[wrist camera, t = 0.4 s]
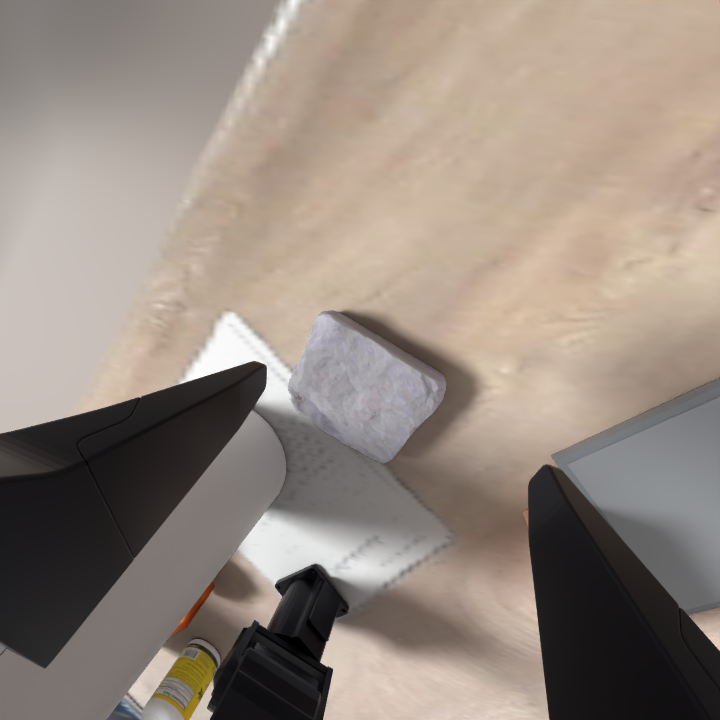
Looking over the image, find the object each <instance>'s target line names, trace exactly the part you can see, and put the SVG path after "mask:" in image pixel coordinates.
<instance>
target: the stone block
mask: <svg viewBox="0 0 720 720" xmlns="http://www.w3.org/2000/svg"><path fill="white" fill-rule="evenodd" d="M446 387H447V384H446V381H445V377H444V376H443V374H442V373H440V372H439V371H437V370H435V369H434V368H432V367H431V366H429V365H427V364H425V363H424V362H422V361H420V360H418V359H417V358H415V357H414V356H412V355H410V354H408V353H407V352H405V351H403V350H402V349H400V348H398V347H397V346H395V345H394V344H392V343H390V342H388V341H387V340H385V339H383V338H382V337H380V336H378V335H377V334H375V333H373V332H372V331H370V330H368V329H366V328H365V327H363V326H361V325H360V324H358V323H357V322H355V321H353V320H352V319H350V318H348V317H347V316H345V315H343V314H341V313H338V312H336V311H324V312H322V313H321V314H319V315H318V317H317V318H316V320H315V322H314V324H313V327H312V332H311V333H310V335H309V338H308V342H307V345H306V347H305V349H304V351H303V353H302V355H301V357H300V359H299V361H298V363H297V365H296V367H295V370H294V372H293V374H292V376H291V378H290V380H289V385H288V391H289V393H290V394H291V396H292V397H291V399H290V400H291V402H292V404H293V405H294V407H295V409H296V411H297V412H299V413H300V414H302V415H305V416H307V417H309V418H310V419H311V420H312V421H313V423H314V424H315V425H316V426H317V427H318V428H320V429H321V430H323V431H324V432H325V433H327V434H329V435H331V436H333V437H336V438H337V439H338V440H339V441H341V442H342V443H343V444H345V445H347V446H349V447H351V448H353V449H357V450H359V451H360V453H361V454H363V455H365V456H367V457H369V458H371V459H373V460H375V461H377V462H379V463H386V462H388V461H390V460H392V459H393V458H394V457H395V455H396V454H397V453H398V452H399V451H400V450H401V449H402V447H403V446H404V445H405V443H406V441H407V440H408V439H409V437H411V436H412V434H413V433H414V432H415V431H416V429H417V427H419V426H420V425H421V424H422V423H423V422H424V421H425V420H426V419H427V418H428V417H430V416H431V415H432V414H433V412H434V411H435V410H436V409H437V407H438V406H439V404H440V403H441V402H442V400H443V398H444V393H445V391H446Z"/></svg>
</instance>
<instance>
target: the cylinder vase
mask: <svg viewBox="0 0 720 720" xmlns="http://www.w3.org/2000/svg"><path fill="white" fill-rule="evenodd" d="M285 477H286V458H285V454H284V450H283V447H282V444H281V442H280V440H279V438H278V436H277V435H276V433H275V432H274V430H273V429H272V427H271V426H270V425H269V424H268V423H267V422H266V421H265V420H264V419H263V418H262V417H261V416H260V415H258V414H257V413H256V412H254V411H253V410H251V412H250V414H249V415H248V417H247V418H246V420H245V421H244V423H243V424H242V426H241V427H240V429H239V430H238V431H237V433H236V434H235V435H234V436H233V438H232V439H231V440H230V441H229V442H228V444H227V445H226V446H225V447H224V449H223V450H222V451H221V452H220V454H219V455H218V456H217V457H216V459H215V460H214V461H213V462H212V464H211V465H210V466H209V467H208V469H207V470H206V471H205V472H204V473H203V475H202V476H201V477H200V478H199V480H198V481H197V482H196V483H195V485H194V486H193V487H192V488H191V490H190V491H189V492H188V493H187V495H186V496H185V497H184V498H183V500H182V501H181V502H180V503H179V505H178V506H177V507H176V508H175V509H174V511H173V512H172V513H171V514H170V516H169V517H168V518H167V519H166V521H165V522H164V523H163V524H162V526H161V527H160V528H159V529H158V531H157V532H156V533H155V534H154V536H153V537H152V538H151V539H150V540H149V542H148V543H147V544H146V545H145V547H144V548H143V549H142V550H141V552H140V553H139V554H138V555H137V557H136V558H134V561H133V562H132V563H131V564H130V566H129V567H128V568H127V569H126V571H125V572H124V573H123V574H122V576H121V577H120V578H119V579H118V580H117V582H116V583H115V584H114V585H113V587H112V588H111V589H110V590H109V592H108V593H107V594H106V595H105V597H104V598H103V599H102V600H101V602H100V603H99V604H98V605H97V607H96V608H95V609H94V610H93V611H92V613H91V614H90V615H89V616H88V618H87V619H86V620H85V621H84V623H83V624H82V625H81V626H80V628H79V629H78V630H77V631H76V633H75V634H74V635H73V636H72V638H71V639H70V640H69V641H68V642H67V644H66V645H65V646H64V647H63V649H62V650H61V651H60V652H59V654H58V655H57V656H56V657H55V658H54V660H53V661H52V662H51V663H50V664H49V665H48V666H47V668H45V669H43V668H42V667H40V666H38V665H36V664H34V663H32V662H30V661H29V660H27V659H25V658H23V657H21V656H19V655H17V654H15V653H14V652H12V651H10V650H8V649H6V650H5V652H4V653H3V654H2V655H1V656H0V720H106V719H107V718H108V717H109V715H110V714H111V713H112V711H113V710H114V709H115V707H116V706H117V705H118V703H119V702H120V701H121V700H122V698H123V697H124V696H125V694H126V693H127V692H128V690H129V689H130V688H131V686H132V685H133V684H134V683H135V681H136V680H137V679H138V677H139V676H140V675H141V673H142V672H143V671H144V670H145V668H146V667H147V666H148V664H149V663H150V662H151V660H152V659H153V658H154V656H155V655H156V654H157V653H158V651H159V650H160V649H161V647H162V646H163V645H164V643H165V642H166V641H167V639H168V638H169V637H170V636H171V634H172V633H173V632H174V630H175V629H176V628H177V626H178V625H179V624H180V622H181V621H182V620H183V619H184V617H185V616H186V615H187V613H188V612H189V611H190V609H191V608H192V607H193V606H194V604H195V603H196V602H197V600H198V599H199V598H200V596H201V595H202V594H203V592H204V591H205V590H206V589H207V587H208V586H209V585H210V583H211V582H212V581H213V579H214V578H215V577H216V575H217V574H218V573H219V572H220V570H221V569H222V568H223V566H224V565H225V564H226V562H227V561H228V560H229V558H230V557H231V556H232V555H233V553H234V552H235V551H236V549H237V548H238V547H239V545H240V544H241V543H242V541H243V540H244V539H245V538H246V536H247V535H248V534H249V532H250V531H251V530H252V528H253V527H254V526H255V525H256V523H257V522H258V521H259V519H260V518H261V517H262V515H263V514H264V513H265V511H266V510H267V509H268V508H269V506H270V505H271V504H272V502H273V501H274V500H275V498H276V497H277V496H278V494H279V493H280V491H281V489H282V487H283V484H284V481H285Z"/></svg>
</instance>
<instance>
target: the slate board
mask: <svg viewBox="0 0 720 720" xmlns="http://www.w3.org/2000/svg"><path fill="white" fill-rule="evenodd" d="M551 457H552V458H553V460H554V461H555V463H556V464H557V465H558V467H559V468H560V469H561V470H563V472H564V473H565V474H566V475H567V476H568V477H569V478H570V480H571V481H572V482H573V483H574V484H575V485H576V487H577V488H578V489H579V490H580V491H581V492H582V493H583V495H584V496H585V497H586V498H587V499H588V500H589V502H590V503H591V504H592V505H593V506H594V507H595V508H596V510H597V511H598V512H599V513H600V514H601V515H602V517H603V518H604V519H605V520H606V521H607V522H608V523H609V525H610V526H611V527H612V528H613V529H614V530H615V531H616V533H617V534H618V535H619V536H620V537H621V538H622V540H623V541H624V542H625V543H626V544H627V545H628V546H629V548H630V549H631V550H632V551H633V552H634V553H635V555H636V556H637V557H638V558H639V559H640V560H641V561H642V563H643V564H644V565H645V566H646V567H647V568H648V570H649V571H650V572H651V573H652V574H653V575H654V576H655V578H656V579H657V580H658V581H659V582H660V583H661V585H662V586H663V587H664V588H665V589H666V590H667V591H668V593H669V594H670V595H671V596H672V597H673V598H674V600H675V601H676V602H677V603H678V604H679V608H682V609H683V610H684V611H685V612H686V613H687V614H692V613H697V612H701V611H705V610H709V609H713V608H717V607H720V378H718V379H716V380H714V381H712V382H709V383H707V384H705V385H703V386H701V387H699V388H696V389H694V390H692V391H690V392H688V393H686V394H683V395H681V396H679V397H677V398H675V399H673V400H670V401H668V402H666V403H664V404H662V405H660V406H657V407H655V408H653V409H651V410H649V411H647V412H644V413H642V414H640V415H638V416H636V417H634V418H631V419H629V420H627V421H625V422H623V423H621V424H618V425H616V426H614V427H612V428H610V429H608V430H605V431H603V432H601V433H599V434H597V435H595V436H592V437H590V438H588V439H586V440H584V441H582V442H579V443H577V444H575V445H573V446H571V447H569V448H566V449H564V450H562V451H560V452H558V453H556V454H553V455H551Z"/></svg>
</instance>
